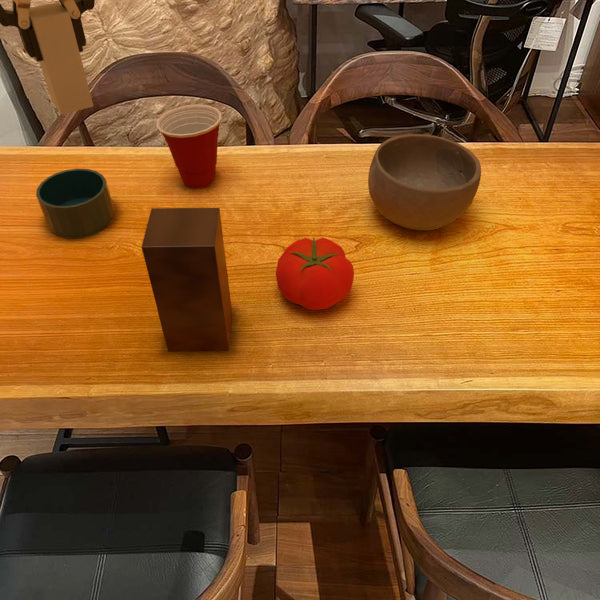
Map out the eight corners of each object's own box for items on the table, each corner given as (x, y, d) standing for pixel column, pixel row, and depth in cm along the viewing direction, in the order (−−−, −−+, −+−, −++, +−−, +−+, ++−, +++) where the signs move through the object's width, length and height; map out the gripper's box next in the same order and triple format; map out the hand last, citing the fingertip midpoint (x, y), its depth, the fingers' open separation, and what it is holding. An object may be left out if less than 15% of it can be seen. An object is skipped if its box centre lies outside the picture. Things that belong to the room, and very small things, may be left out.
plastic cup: (190, 156, 109) (181, 95, 101) (239, 172, 106) (234, 110, 97) (154, 186, 103) (141, 123, 94) (205, 203, 99) (196, 140, 90)
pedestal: (167, 351, 77) (141, 247, 64) (174, 312, 82) (151, 208, 69) (228, 350, 77) (214, 246, 64) (232, 311, 82) (219, 207, 69)
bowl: (467, 185, 103) (479, 134, 96) (472, 251, 91) (487, 198, 83) (368, 177, 105) (374, 126, 98) (361, 240, 92) (366, 187, 85)
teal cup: (58, 246, 91) (46, 215, 87) (40, 211, 98) (28, 181, 93) (123, 224, 95) (115, 193, 91) (102, 191, 102) (93, 161, 97)
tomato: (276, 268, 88) (275, 229, 83) (349, 267, 88) (352, 228, 83) (275, 320, 80) (274, 281, 75) (355, 319, 81) (359, 280, 75)
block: (61, 114, 71) (32, 20, 63) (51, 101, 73) (22, 8, 65) (93, 106, 72) (69, 12, 64) (83, 93, 75) (58, 2, 67)
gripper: (68, -138, 61) (106, 31, 73) (-81, -124, 56) (-13, 57, 68) (92, -126, 57) (128, 52, 69) (-67, -109, 51) (3, 81, 63)
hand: (58, 53), depth 68 cm, fingers closed on block, 4 cm apart
